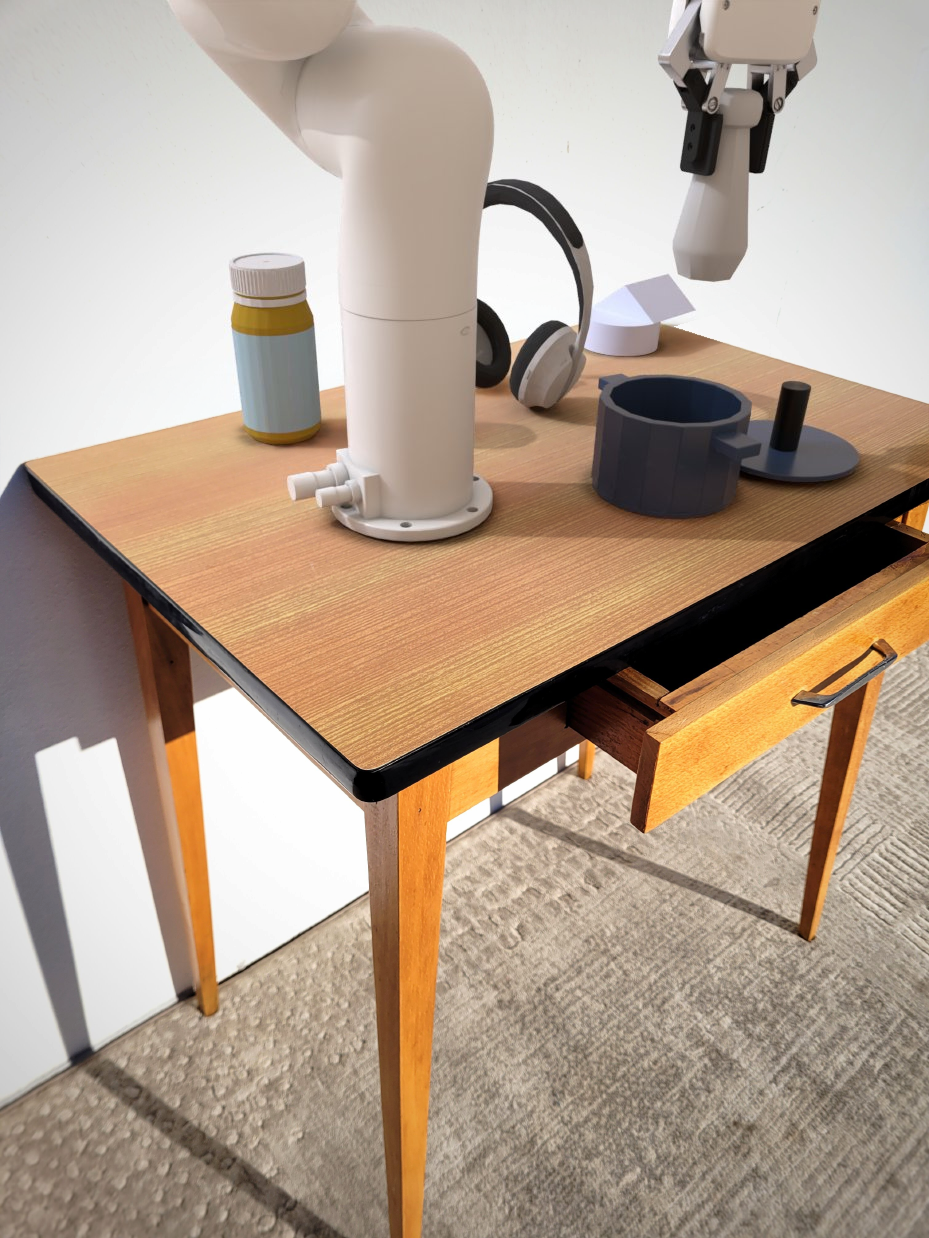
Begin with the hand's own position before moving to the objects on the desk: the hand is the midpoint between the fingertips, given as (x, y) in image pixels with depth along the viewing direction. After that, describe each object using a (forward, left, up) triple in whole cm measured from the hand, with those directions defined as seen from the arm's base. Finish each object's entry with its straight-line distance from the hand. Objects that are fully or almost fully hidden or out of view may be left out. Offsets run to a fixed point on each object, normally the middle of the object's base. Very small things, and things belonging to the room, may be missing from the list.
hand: (722, 169), depth 69 cm
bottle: (-30, +20, -23) cm, 43 cm away
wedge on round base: (+16, +29, -23) cm, 40 cm away
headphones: (-7, +19, -23) cm, 31 cm away
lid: (+7, -5, -22) cm, 24 cm away
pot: (-6, -5, -23) cm, 24 cm away
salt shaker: (0, 0, -8) cm, 8 cm away
